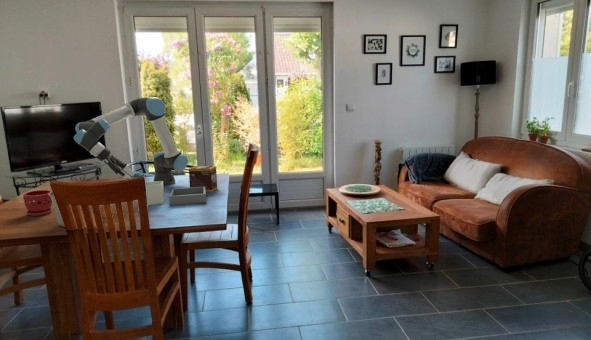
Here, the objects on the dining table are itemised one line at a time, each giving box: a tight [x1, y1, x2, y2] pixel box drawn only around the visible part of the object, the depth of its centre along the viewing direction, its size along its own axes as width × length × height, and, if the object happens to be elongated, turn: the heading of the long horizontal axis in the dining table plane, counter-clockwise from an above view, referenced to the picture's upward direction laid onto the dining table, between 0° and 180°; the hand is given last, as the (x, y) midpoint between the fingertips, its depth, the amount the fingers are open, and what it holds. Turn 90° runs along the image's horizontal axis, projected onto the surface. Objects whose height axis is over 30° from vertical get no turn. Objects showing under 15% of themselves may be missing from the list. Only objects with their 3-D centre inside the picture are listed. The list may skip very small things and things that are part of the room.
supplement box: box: [188, 165, 218, 193], centre depth 259 cm, size 10×15×16 cm
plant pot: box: [22, 189, 53, 217], centre depth 211 cm, size 13×13×12 cm
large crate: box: [168, 187, 207, 207], centre depth 234 cm, size 20×20×6 cm
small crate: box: [145, 181, 165, 206], centre depth 230 cm, size 11×11×12 cm
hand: (131, 177), depth 225 cm, fingers open, 13 cm apart
